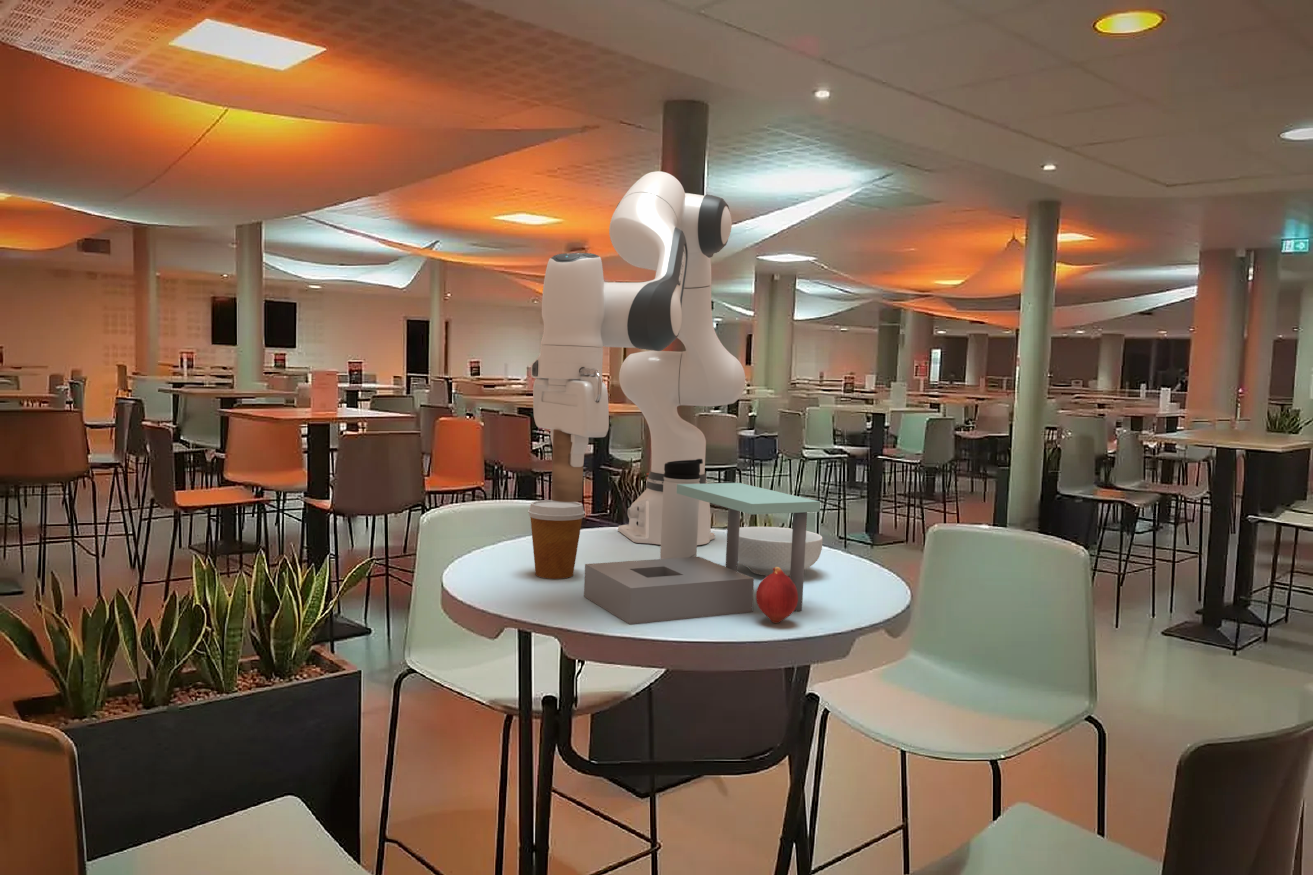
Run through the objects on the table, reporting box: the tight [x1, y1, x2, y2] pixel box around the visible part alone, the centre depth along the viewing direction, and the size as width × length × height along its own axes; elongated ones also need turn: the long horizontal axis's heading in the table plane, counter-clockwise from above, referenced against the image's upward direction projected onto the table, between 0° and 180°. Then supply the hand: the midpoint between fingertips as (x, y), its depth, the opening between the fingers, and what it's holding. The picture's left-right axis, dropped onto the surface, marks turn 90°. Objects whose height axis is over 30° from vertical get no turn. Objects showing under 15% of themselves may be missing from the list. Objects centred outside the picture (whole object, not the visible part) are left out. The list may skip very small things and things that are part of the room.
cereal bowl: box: [738, 526, 824, 577], centre depth 160 cm, size 17×17×7 cm
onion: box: [755, 567, 798, 624], centre depth 126 cm, size 6×6×8 cm
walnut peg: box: [550, 429, 584, 502], centre depth 129 cm, size 4×4×10 cm
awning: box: [677, 482, 821, 612], centre depth 140 cm, size 22×12×16 cm, turn 27°
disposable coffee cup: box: [527, 499, 586, 580], centre depth 150 cm, size 10×10×12 cm
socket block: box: [583, 556, 755, 625], centre depth 134 cm, size 16×20×5 cm
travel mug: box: [659, 459, 703, 559], centre depth 155 cm, size 6×7×20 cm
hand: (568, 464), depth 129 cm, fingers closed on walnut peg, 4 cm apart
